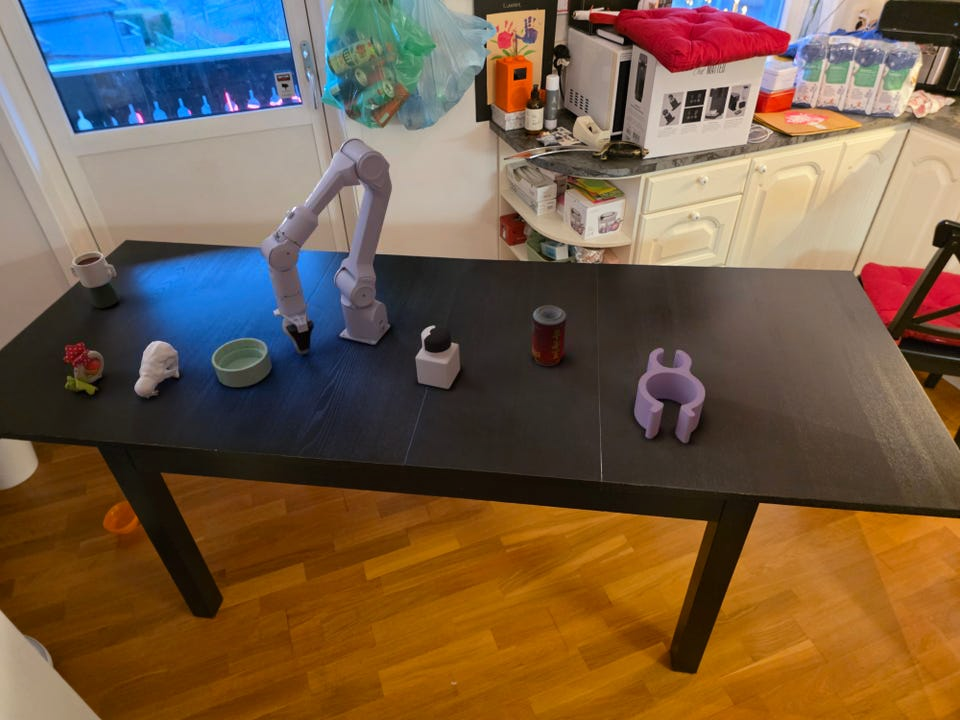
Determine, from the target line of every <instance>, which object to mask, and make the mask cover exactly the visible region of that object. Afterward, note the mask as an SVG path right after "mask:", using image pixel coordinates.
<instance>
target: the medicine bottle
mask: <svg viewBox="0 0 960 720" xmlns="http://www.w3.org/2000/svg"><path fill="white" fill-rule="evenodd" d="M420 337H421V346H422V347H421V348H420V350H419V352H418V353H417V354H416V356H415V366H416V376H417V382H418V384H421V385H427V386H432V387H436V388H440V389H446V390H449V389H450V388H451V386H452V384H453V383H454V381H455V379H456V378H457V376H458V374H459V373H460V370H461V360H460V345H459V343H455V342H452V333H451V331H450V329H449V328H447V327H446V326H444V325H439V324H438V325H437V324H435V325H430V326H428V327H426V328H424V329H423V330H422V332H421V334H420Z"/></svg>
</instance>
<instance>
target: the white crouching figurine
mask: <svg viewBox="0 0 960 720" xmlns="http://www.w3.org/2000/svg"><path fill="white" fill-rule="evenodd" d="M142 354H143V355H142V359H141V362H140V368H139V371H138V373H139V378H138V379H137V381H136V383H135V385H134V392H135V393H136V395H137V396H139V397H141V398H146V399H149V398H150V397H152V396H157V395H158V389H156V387H157V386H158V384H159V383H160V384H161V383H162V382H163V381H165V379H169V378H171V377H173V378H177V379H178V378H179V377H180V373H179V354H178V351H177V350H176V349H175V348H174V347H173V346H172V345H171V344H170V343H168V342H165V341H161V340H155V341H152V342H150V344H148V345H147V346H146V348H145V350H144V351H143V353H142ZM155 389H156V390H155Z"/></svg>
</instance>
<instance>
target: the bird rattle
mask: <svg viewBox="0 0 960 720" xmlns="http://www.w3.org/2000/svg"><path fill="white" fill-rule="evenodd" d="M64 349H65V352H66V354H65V356H64V357H63V358H62V359H63V361H64V362H65V363H67V364H72V366H73V375H74V377H72V376H71V375H68V376H67V377H66V380H67V382H66V384H65V385H64V388H65V389H66V390H70V391H75V392H81V391H83V390H85V391H86V393H88V394H89V395H94V394H95V392H96V391H99V388H98V387H97V386H94V385H92V384H91V383H93V382H95V381H97V380H98V379H101V378H102V377H103V375H102V373H103V371H104V367H105V359H104V357H103V355H102V353H100V352H98V351H96V350H90V349H86V345H85V344H84V342H78V343H76V344H75V345H70V344H67V345H65V347H64Z"/></svg>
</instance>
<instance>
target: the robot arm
mask: <svg viewBox="0 0 960 720" xmlns="http://www.w3.org/2000/svg"><path fill="white" fill-rule="evenodd" d="M390 165H391V164H390V163H389V162H388V160H387V159H386V158H385V156H384V155H383V154H382V153H381V152H380V151H378V150H375V149H374V148H373V147H371V146H369V145H368V144H367V143H365V142H364V141H363V140H361V139H360V138H356V137H351V138H348V139H346V140H345V141H344V142H342V144H341V145H340V148H339V149H338V150H337V151H336V152H335V153H334V154H333V157H332V159H331V162H330V165H329V167H328V168H327V170H326V172H325V173H324V174H323V176H322V177H321V179H320V180H319V181H318V183H317V185H316V186H315V188H314V189H313V190H312V192H311V194H310V195H309V196H308V197H307V199H306V201H305V202H304V204H301V205H296V206H294V207H293V208H292V210H291V209H289V210H288V211H287V212H286V213H285V216H286V217H285V219H284V220H283V222H282V223H281V224H280V225H279V226H278V228H277V230H274V231H273V232H272V234H271V235H270V236H267V237H266V238H265V239H263V241H262V243H261V247H260V249H259V252H260V254H261V256H262V257H263V258H264V259H266V261H267V262H266V263H267V268H268V271H269V272H268V273H269V278H270V281H271V282H270V283H271V285H272V289H273V293H274V296H275V301H276V305H277V307H276V309H274V310H273V315H274V317H275V318H280V317H281V318H282V320H283V319H284V318H285V319H286V320H288V321H290V322H291V323H293V324H292V325H289V326H286V329H287V331H288V332H289V334H290V335H292V336H293V338H294V339H295V341H296V343H297V346H298V347H299V349H300V351H304V350H307V349H308V350H310V349H311V336H312V332H313V330H314V328H315V323H314V322H313V321H312V319H310V321H308V322H306V317H307V316H308V304H307V302H306V300H305V296H304V291H303V287H302V282H301V278H300V273H299V270H298V269H299V268H298V266H297V264H298V261H299V257H300V256H299V255H300V254H299V253H300V251H301V248H302V247H303V246H304V245H305V244H306V242H307V240H309V238H310V236H311V235H312V234H313V233H314V232H315V230H316V229H317V227H318V226H319V215H320V214H321V213H322V212H323V211H324V210H325V209H326V207H327V206H328V205H329V204H330V203H331V202H332V201H333V199H334V198H336V196H337V195H338V194H339V193H340V192H341V190H342V189H343V188H345V187H352V186H353V187H354V186H355V187H356V186H360V185H362V187H363V189H364V191H363V195H362V200H361V204H360V208H359V212H358V217H357V221H356V225H355V228H354V233H353V236H352V240H351V245H350V250H349V254H348V257H346V258H344V259H343V260H342V261H341V265H340V267H339V269H338V270H337V272H335V274H334V277H333V282H334V283H333V284H334V286H335V288H336V289H337V290H339V291H340V293H341V296H340V302H341V303H340V304H341V308H342V313H343V319H344V324H345V329H343V330H342V332H341V333H340V334H339V337H340V338H343V339H346V340H351V341H356V342H359V343H365V344H369V345H373V346H374V345H376V344H377V343H378V342H379V341H380V340H381V338H382V337H383V336H384V335H385V334H386V332H388V330H389V329H390V328H391V325H390V324H389V321H388V313H387V307H386V304H384V303H383V302H381V301H379V300H377V299H376V296H377V289H376V281H377V275H376V272H375V269H374V265H373V264H374V261H375V256H376V253H377V249H378V245H379V242H380V238H381V234H382V231H383V230H382V229H383V225H384V222H385V218H386V214H387V210H388V207H389V202H390V199H391V195H392V190H393V184H392V179H391V175H390Z"/></svg>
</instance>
